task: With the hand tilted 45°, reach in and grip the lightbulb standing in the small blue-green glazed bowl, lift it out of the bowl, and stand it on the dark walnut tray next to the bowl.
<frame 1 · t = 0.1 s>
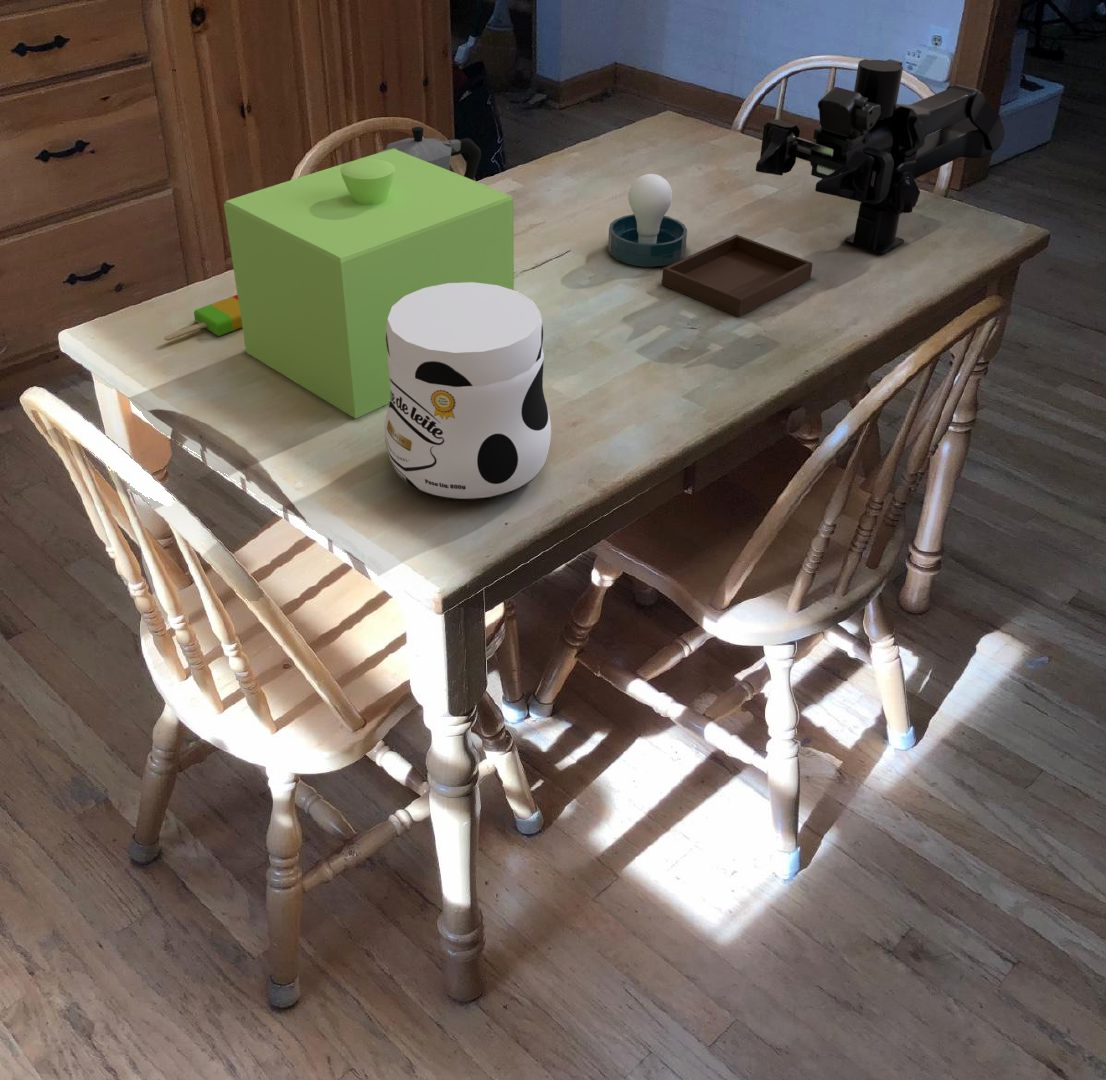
hand: (786, 177, 154), 17 cm above the table, tool horizontal, fingers open, 9 cm apart
popsicle: (218, 327, 155), on the table
tray: (736, 282, 168), on the table
milk container: (469, 469, 131), on the table
canister: (381, 350, 151), on the table
coffeepot: (431, 254, 174), on the table
lightbulb: (646, 251, 175), resting on bowl
bowl: (646, 252, 175), on the table
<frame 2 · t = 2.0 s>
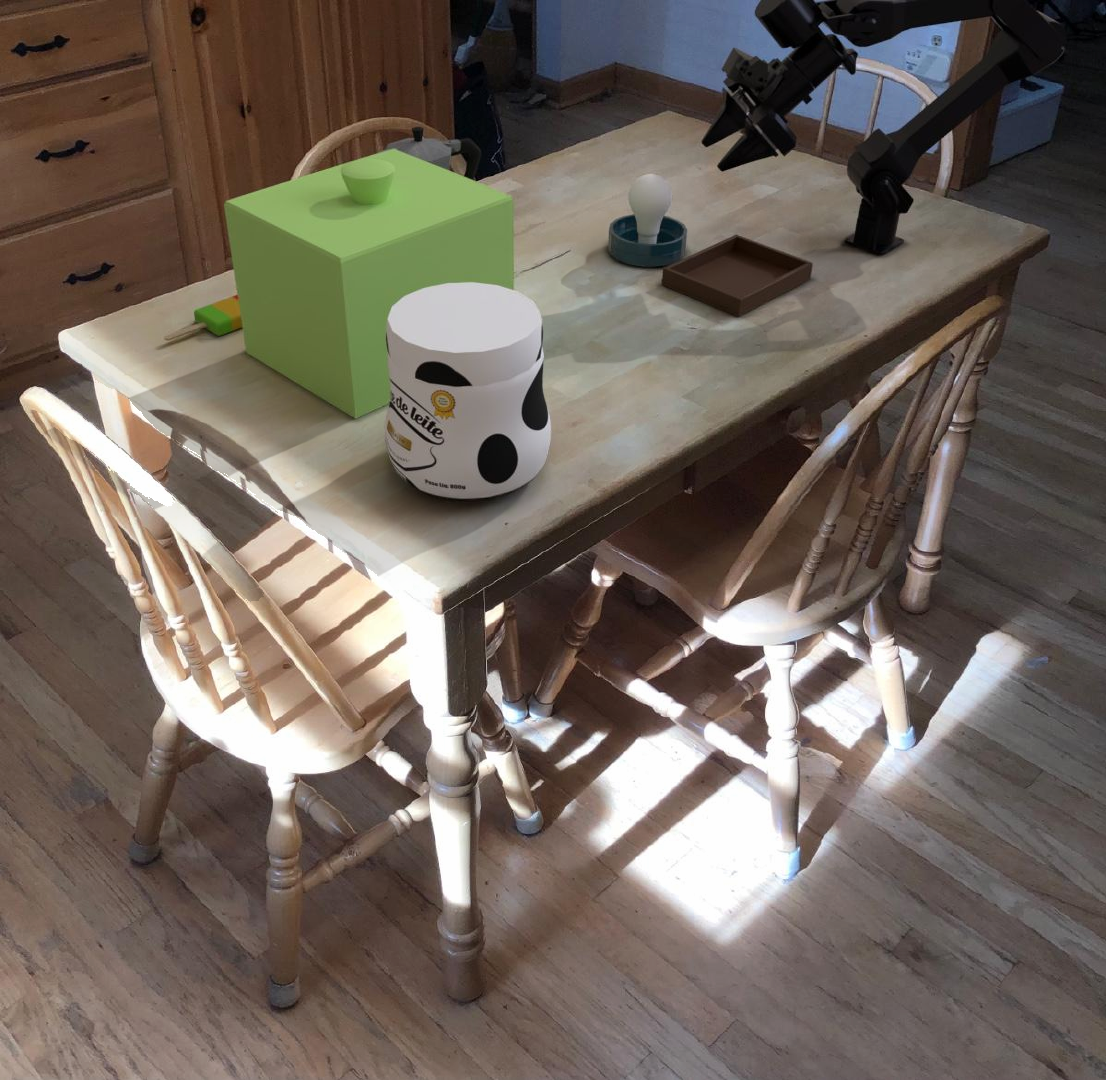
hand: (711, 156, 167), 14 cm above the table, tool tilted 45°, fingers open, 9 cm apart
nothing on the table moved.
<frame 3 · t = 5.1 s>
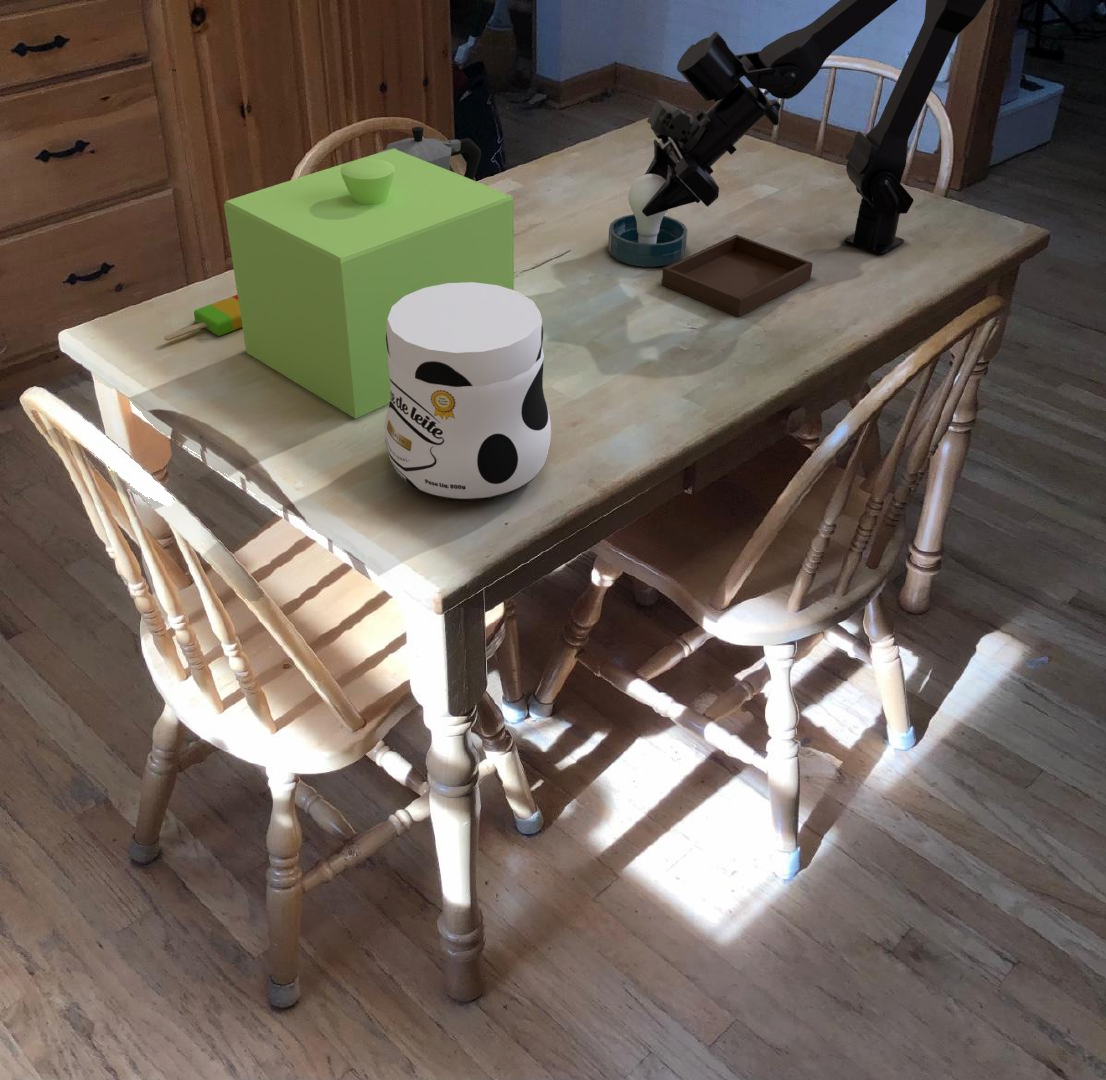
hand: (639, 204, 171), 7 cm above the table, tool tilted 45°, fingers closed on lightbulb, 6 cm apart
lightbulb: (646, 251, 175), resting on bowl, touching gripper
everything else where it was.
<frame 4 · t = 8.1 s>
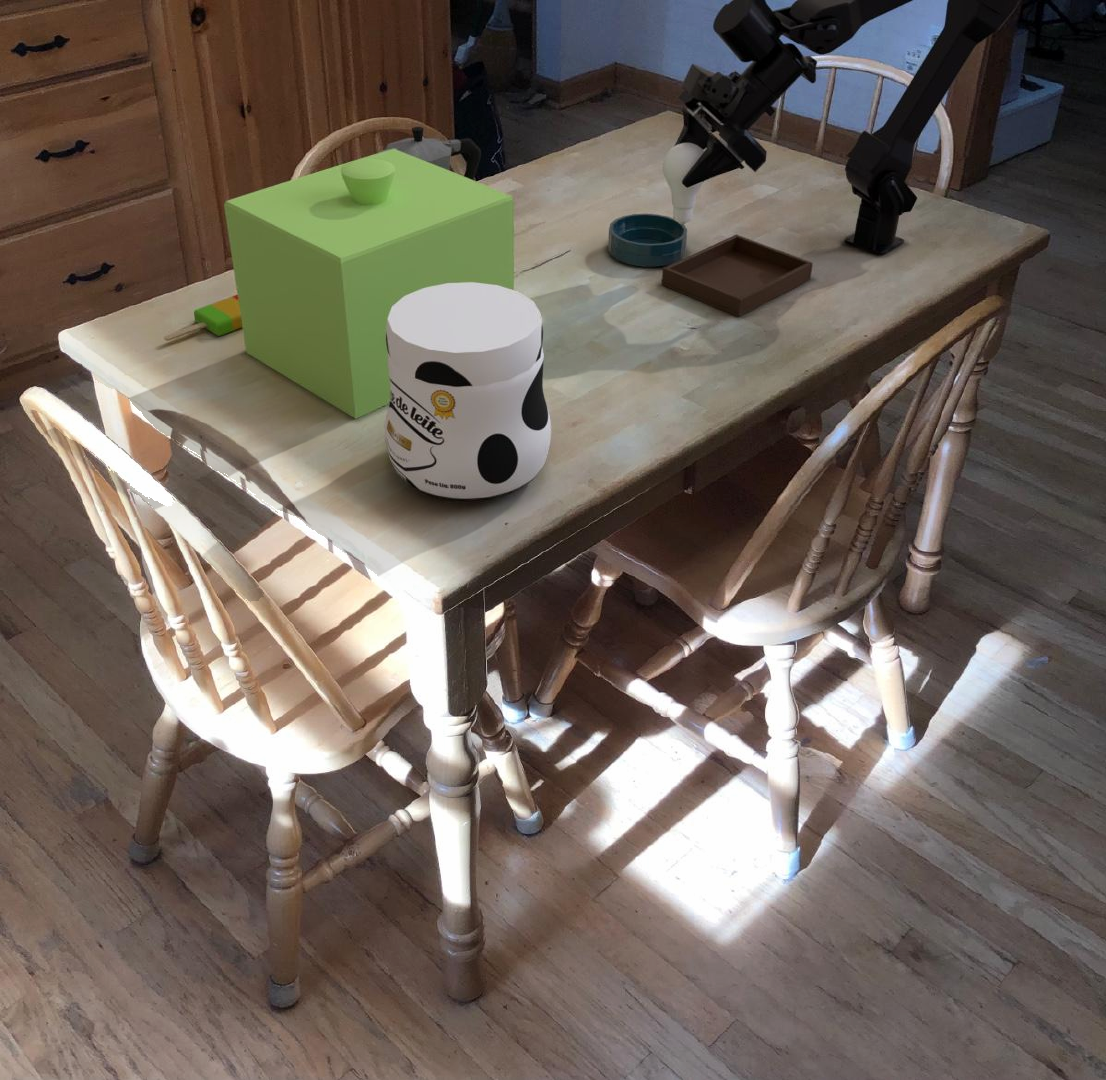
hand: (675, 176, 163), 13 cm above the table, tool tilted 45°, fingers closed on lightbulb, 6 cm apart
lightbulb: (681, 225, 167), point 6 cm above the table, touching gripper
everything else where it was.
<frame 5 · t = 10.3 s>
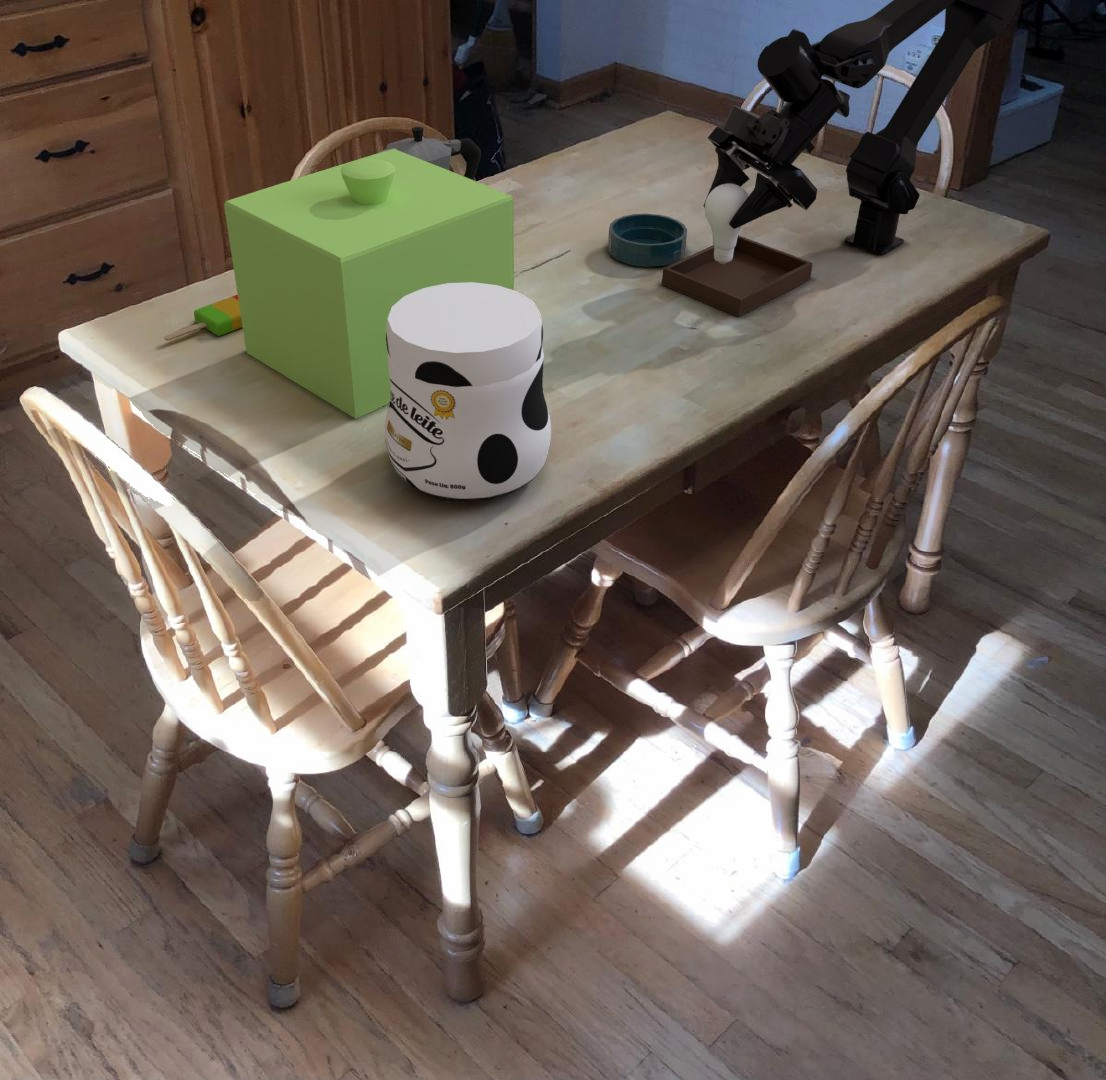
hand: (718, 217, 161), 10 cm above the table, tool tilted 45°, fingers closed on lightbulb, 6 cm apart
lightbulb: (722, 264, 166), point 3 cm above the table, touching gripper
everything else where it was.
when the fingers open (7 cm above the table, at t = 11.5 s): lightbulb stays where it is, resting on tray.
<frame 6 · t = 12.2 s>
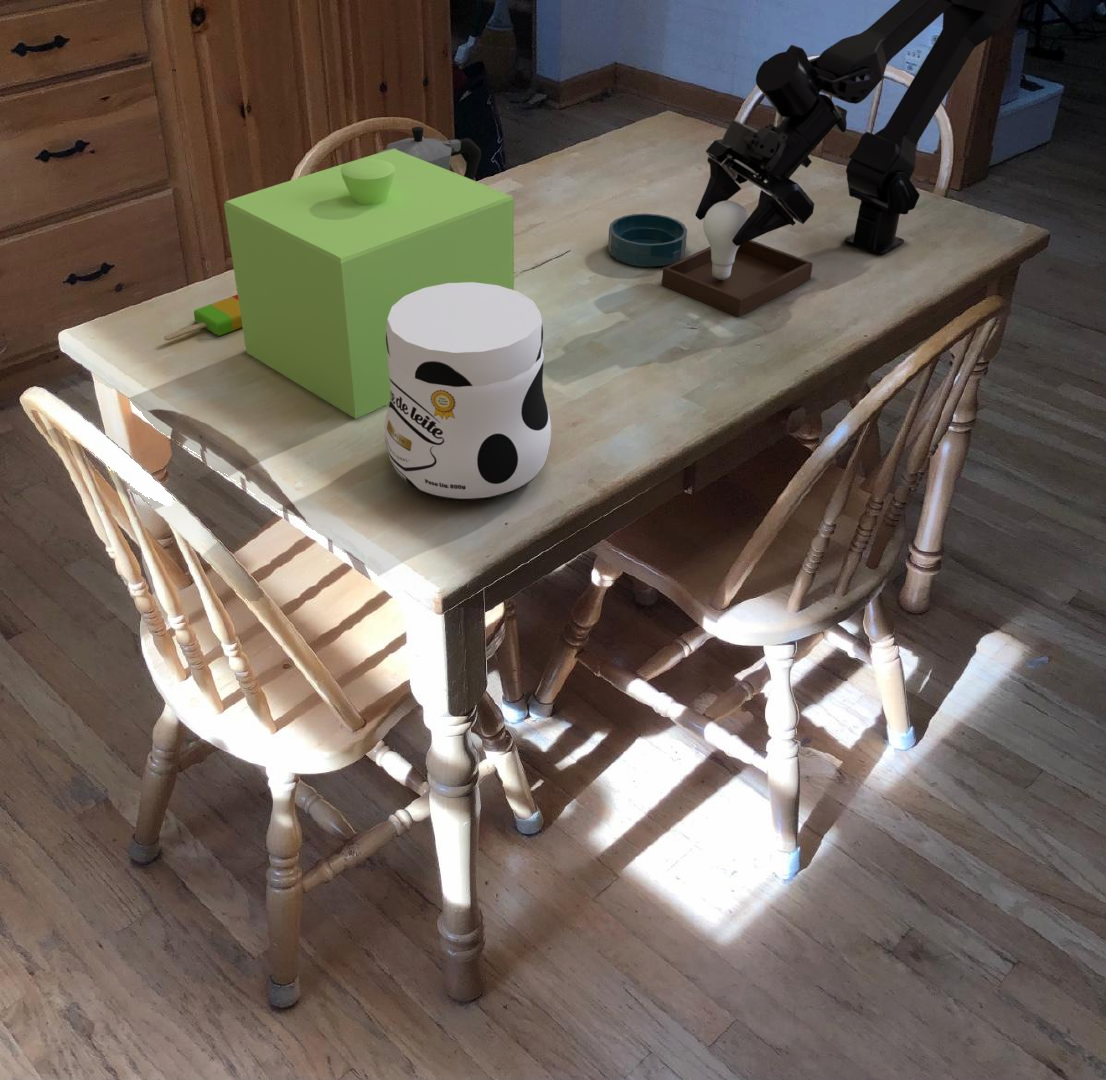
hand: (715, 230, 162), 8 cm above the table, tool tilted 45°, fingers open, 9 cm apart
lightbulb: (720, 281, 167), resting on tray
everything else where it was.
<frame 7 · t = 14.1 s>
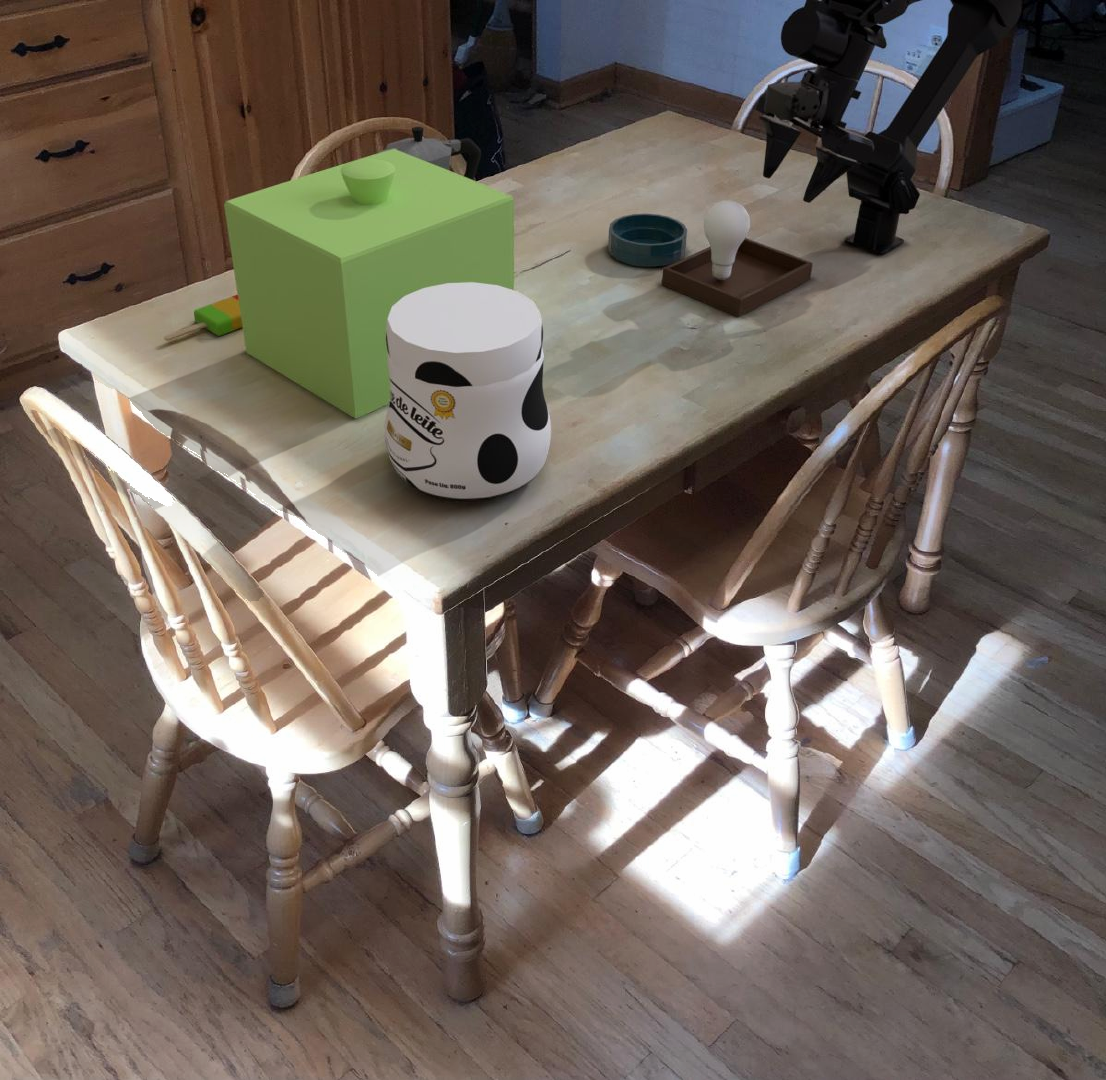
hand: (785, 189, 163), 12 cm above the table, tool tilted 20°, fingers open, 9 cm apart
nothing on the table moved.
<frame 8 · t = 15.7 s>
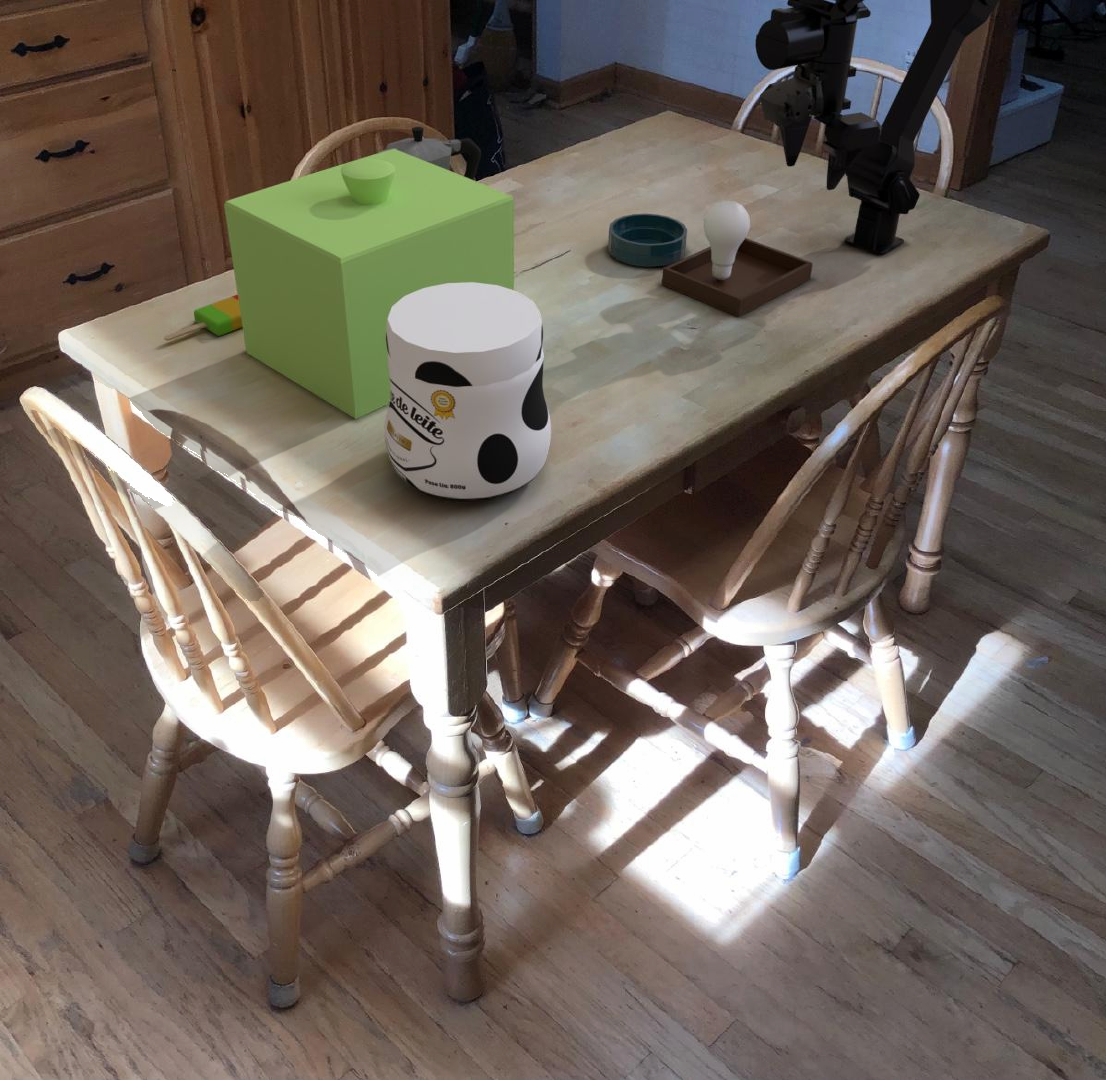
hand: (810, 177, 164), 13 cm above the table, tool pointing down, fingers open, 9 cm apart
nothing on the table moved.
at the end: lightbulb inside the target area in the tray (2.3 cm from its centre), point 0.3 cm above the tray's base; lightbulb touching tray; the gripper is holding nothing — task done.
